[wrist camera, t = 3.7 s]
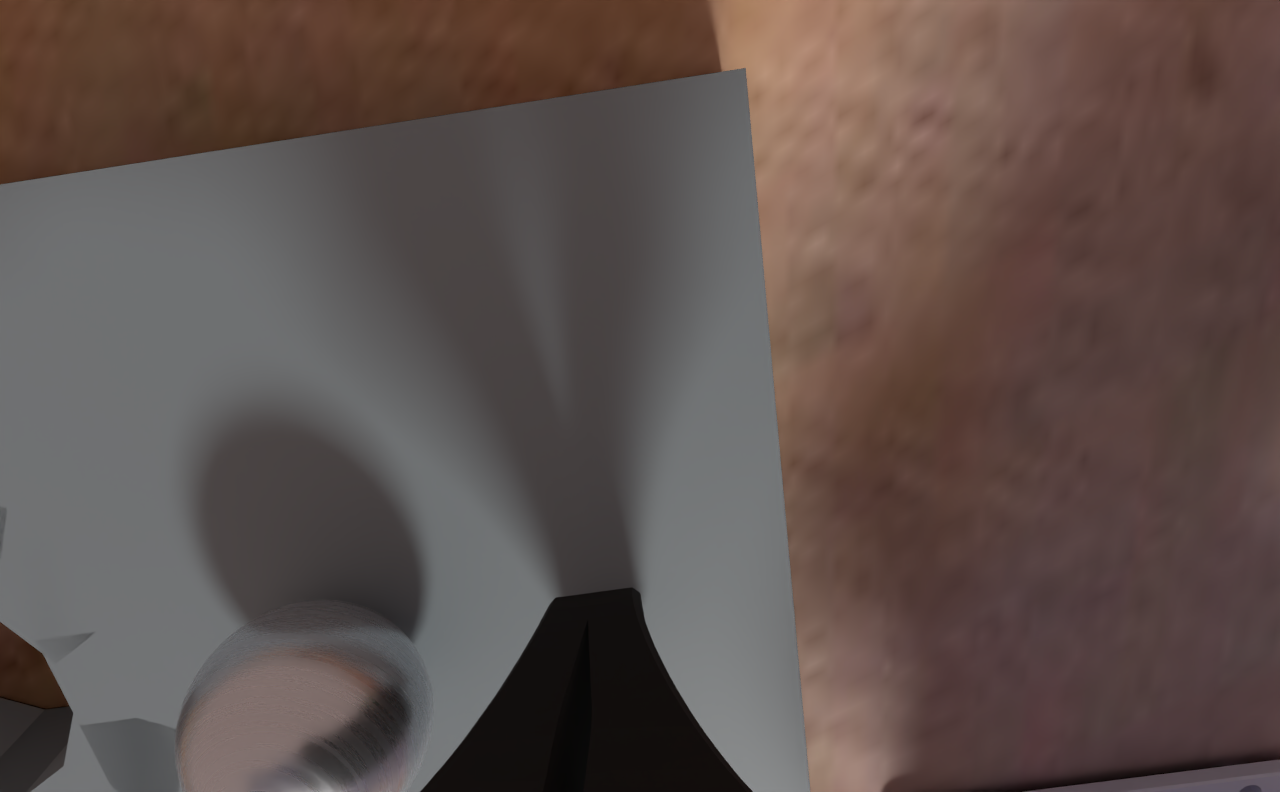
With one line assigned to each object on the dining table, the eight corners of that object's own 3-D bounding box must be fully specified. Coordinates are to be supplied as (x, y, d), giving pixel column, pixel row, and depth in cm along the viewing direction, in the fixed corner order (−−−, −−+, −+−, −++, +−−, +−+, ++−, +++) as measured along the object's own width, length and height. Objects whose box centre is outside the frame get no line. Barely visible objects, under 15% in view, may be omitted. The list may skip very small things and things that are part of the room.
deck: (722, 73, 13) (744, 68, 10) (796, 810, 18) (821, 915, 16) (-465, 257, 13) (-699, 294, 11) (-34, 915, 19) (-126, 1030, 17)
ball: (426, 541, 13) (357, 698, 9) (474, 712, 14) (428, 902, 11) (214, 570, 13) (73, 736, 9) (280, 737, 14) (175, 933, 11)
